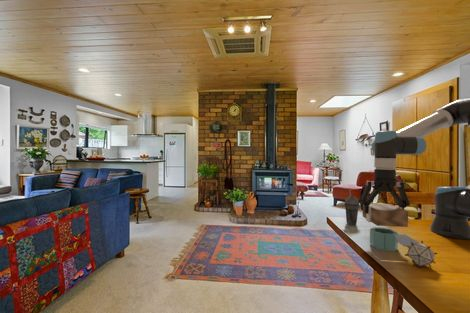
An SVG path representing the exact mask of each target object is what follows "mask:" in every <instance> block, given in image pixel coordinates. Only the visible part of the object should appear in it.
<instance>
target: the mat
mask: <svg viewBox="0 0 470 313" xmlns="http://www.w3.org/2000/svg"><path fill="white" fill-rule="evenodd" d="M411 242H412V243H413V244H416V243H420V242H419V241H418V240H416V239H414V238H412V237H410V236H409V235H407V234H400V233H398V244H400V245H401V246H403V247H407V246H409V247H410V246H411V245H412V244H411ZM407 248H408V247H407Z"/></svg>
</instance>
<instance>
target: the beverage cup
mask: <svg viewBox="0 0 470 313" xmlns="http://www.w3.org/2000/svg"><path fill="white" fill-rule="evenodd" d="M348 191H349V196H347V197H346V198H345V200H344V207H345V218H346V220H345V221H346V225H348V226H352V227H354V226H357V223H358V222H357V221H358V214H359V207H360V202H359V201H360V200H359V199H358V198H357V197H356V196H354V195H352V193H351V188H349V190H348Z"/></svg>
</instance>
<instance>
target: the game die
mask: <svg viewBox="0 0 470 313" xmlns="http://www.w3.org/2000/svg"><path fill="white" fill-rule="evenodd" d="M411 244H412V245H411V246H410V247H409V246H407V248H408V251H407V253H406V254H404V256H406V257H407V256H408V257H409V258H410V260H411V262H412V263H415V264H416V265H418V267H417V268H418V269H420V268H421V267H422V266H423V267H424V266H428V267H432V265H431V264H436V261H434V260H435V255H437V254H438V252H434V251H433V250H432V249H431V246H429V245H428V246H427V245H426V244H425V243H424V241H423V240H421V241H420V242H419V243H416V244H413V243H412V242H411Z"/></svg>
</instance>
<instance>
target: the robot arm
mask: <svg viewBox="0 0 470 313" xmlns="http://www.w3.org/2000/svg"><path fill="white" fill-rule="evenodd" d="M461 124H467V127H468V128H470V96H466V97H461V98H459V99H457V100H454V101H452V102H450V103H448V104H446V105H444V106H442V107H440V108H438V109H435V110H434V111H433V112H432V113H431V115H429V116H427V117H424V118H423V119H420V120H418V121H416V122H414V123H412V124H410V125H408V126H406V127H404V128H401V129H399V130H398V131H396V130H380V131H377V132H376V133H375V136H374V140H373V142H372V143H371V150H372V151H373V153H374V165H373V166H374V170H373V180H371V181H370V180H366V181H365V187H364V189H363V192H362V193H361V195H360V199H359V200H358V201H359V204H362V205H363V204H364V212H365V213H366V218H365V220H366V221H367V222H368V223H372V222H371V206H369V205H370V204H371V203H372V202H373V201H374V200H375V198H376V197H377V195H378V194H380V193H381V192H383V193H385V192H388V193H390V195H391V196H392V197H393V199H394V201H395V202H396V204H397V205H395V206H396V207H398V208H401V209H403V210H405V208H407V207H410V205H411V203H410V201H409V198H408V195H407V192H406V190H405V182H403V181H396V177H397V170H396V168H397V155H398V156H399V155H401V156H402V155H404V156H405V155H408V156H409V155H410V156H415V155H417V156H418V155H419V156H420V155H422V154H423V153H425V151H426V149H427V141H426V140H425V139H424V137H426V136H428V135H430V134H433V133H435V132H436V131H438V130H441V129H448V128H450V127H452V126H455V125H461ZM373 186H374V187H373ZM395 186H396V187H397V190H398V193H397V190H396V189H395ZM372 187H373V189H372ZM371 189H372V191H371ZM370 192H371V193H370ZM369 193H370V194H369ZM434 198H435V199H434V200H435V201H434V202H435V204H434V208H435V210H434V211H435V212H434V217H433V220H432V222H431V224H430V226H429V229H430V232H432V233H434V234H436V235H439V236H442V237H446V238H452V239H459V240H470V223H469V218H470V184H469V185H466V186H438V187H436V189H435V195H434Z"/></svg>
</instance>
